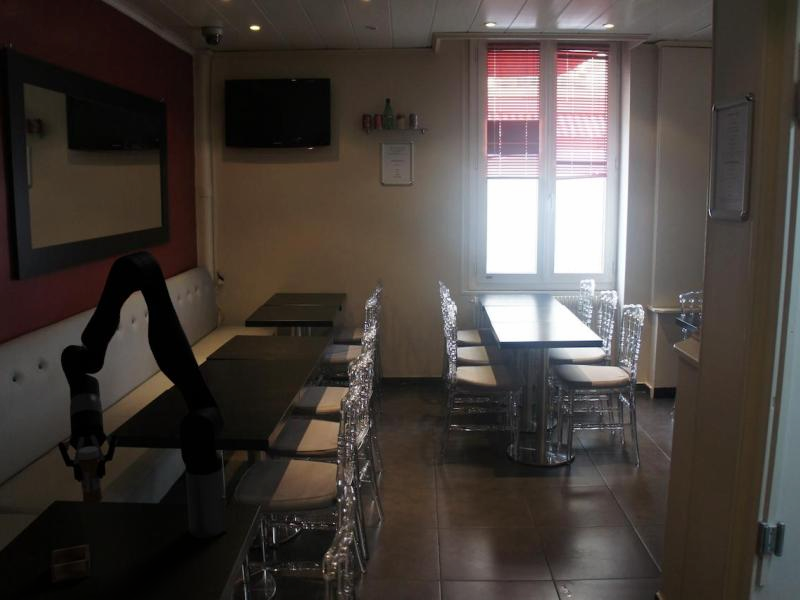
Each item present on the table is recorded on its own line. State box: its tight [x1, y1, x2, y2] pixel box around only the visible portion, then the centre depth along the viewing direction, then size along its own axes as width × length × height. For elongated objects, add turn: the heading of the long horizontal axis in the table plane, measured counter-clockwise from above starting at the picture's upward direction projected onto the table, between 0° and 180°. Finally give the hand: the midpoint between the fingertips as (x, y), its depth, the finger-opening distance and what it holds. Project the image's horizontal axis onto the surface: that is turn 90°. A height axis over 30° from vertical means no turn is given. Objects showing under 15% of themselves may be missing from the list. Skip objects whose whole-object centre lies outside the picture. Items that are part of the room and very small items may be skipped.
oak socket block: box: [50, 543, 91, 584], centre depth 176 cm, size 8×8×4 cm
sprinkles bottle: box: [78, 446, 104, 505], centre depth 182 cm, size 5×5×14 cm
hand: (90, 478), depth 181 cm, fingers closed on sprinkles bottle, 4 cm apart
